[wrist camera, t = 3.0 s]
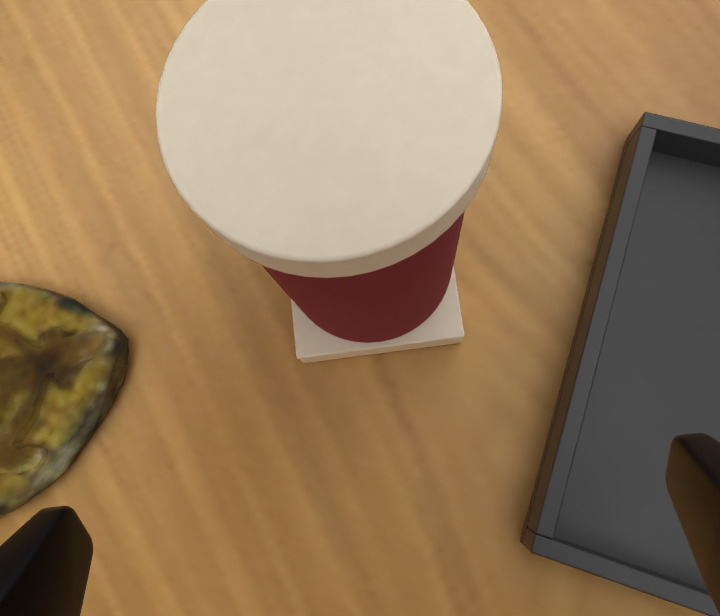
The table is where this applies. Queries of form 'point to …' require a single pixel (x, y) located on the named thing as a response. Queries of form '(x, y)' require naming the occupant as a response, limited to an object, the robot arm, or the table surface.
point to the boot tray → (639, 371)
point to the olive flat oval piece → (50, 385)
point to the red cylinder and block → (337, 155)
